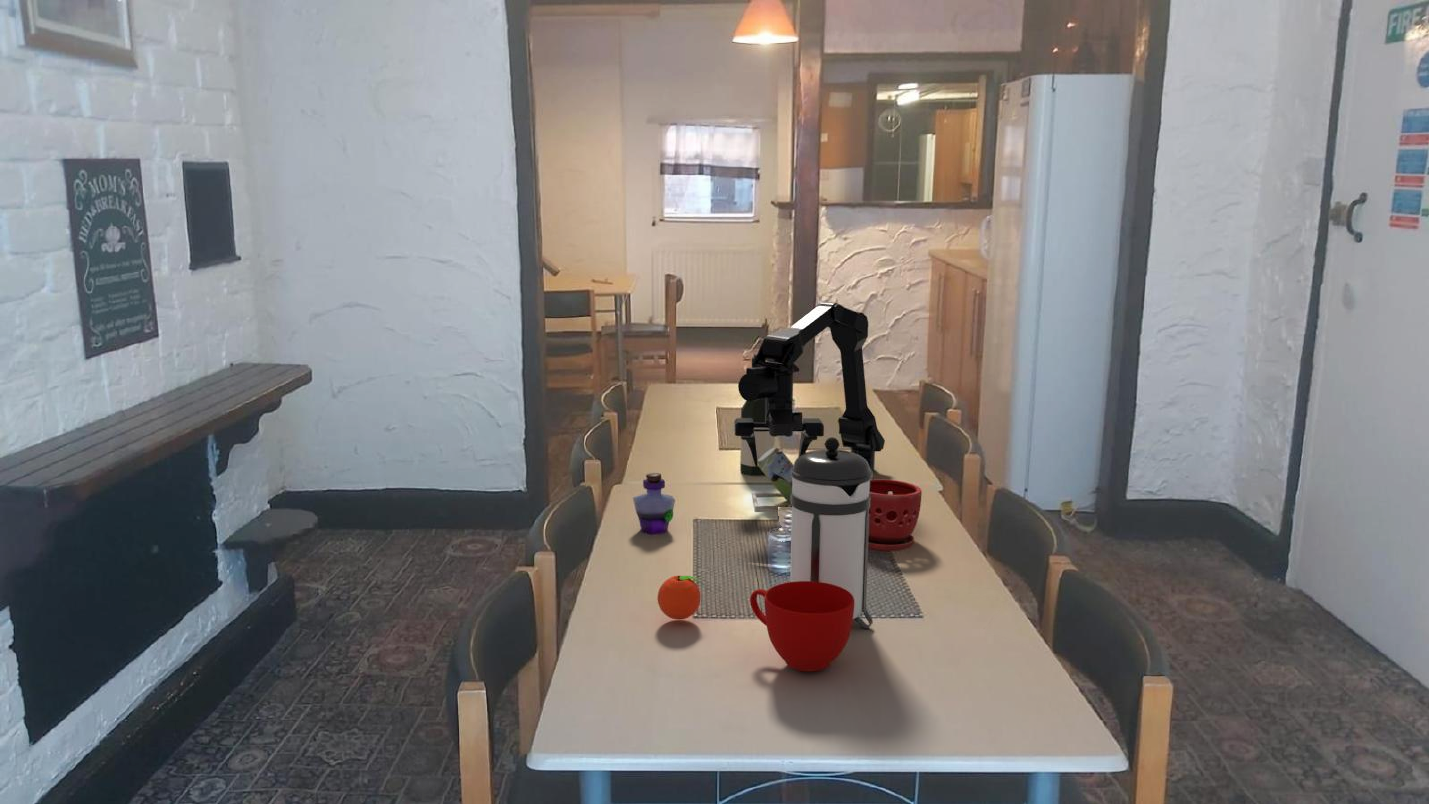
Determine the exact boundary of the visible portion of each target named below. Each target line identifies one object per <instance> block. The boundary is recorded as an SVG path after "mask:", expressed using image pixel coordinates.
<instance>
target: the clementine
mask: <svg viewBox="0 0 1429 804" xmlns="http://www.w3.org/2000/svg"><path fill="white" fill-rule="evenodd" d="M694 580H696V581H700V582H701V579H699V578H697V577H695V576H691V575H673V576H670V577H669V578H666V579H665V581H664V582H663V583H662V584H661V585H660V587H659V588H658V591H657V604H658V606H659V608H660V611H661V612H662V613H663V614H664V615H665V616H667V617H668V618H670V619H672V620H685V619H688V618H689V617H692V616H693V615H694V614H695V613H696V611H698V609H699V606H700V604H701V598H702V597H701V591H700V589H699V586H698V584H697V583H696V582H695V581H694ZM702 584H703V586H704V589H706V586H705V584H704V583H702Z"/></svg>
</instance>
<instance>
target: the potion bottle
mask: <svg viewBox="0 0 1429 804" xmlns="http://www.w3.org/2000/svg"><path fill="white" fill-rule="evenodd" d="M645 477H646V478H645V479H643V481H642V487H643V489H646V493H643V494H642V493H641V494H640V495H637V496H633V497H632V502H633V505H634V509H635V513H636V515H637V517H638V521H639V526H640V530H641V532H642V534H643V533H644V534H649V535H658V534H663V533H666V532H667V531H668V528H669V525H670V522H671V521H672V519H673V517H674V507H675V503H676V499H675V498H674V496H673V495H671V494H666V493H665V494H664V493H662V490H663V489H665V488H666V487H665V485H666V484H665V483H666V482H665V480H664V478H662V474H661V473H659V472H651V473H647V474H646V475H645Z"/></svg>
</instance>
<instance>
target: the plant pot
mask: <svg viewBox="0 0 1429 804" xmlns="http://www.w3.org/2000/svg"><path fill="white" fill-rule="evenodd" d="M869 492H870V494H871V502H870V508H869V538H868V550H869V549H870V550H876V551H887V552H888V551H889V552H890V551H892V552H893V551H900V550H904V549H907V548H910V547H911V546H912V545H913V544H914V542H915V538H914V536H913V535H912V534H913V532H914V530H915V528H916V526H917V523H918V519H919V516H920V513H921V512H920V510H921V505H922V494H923V493H922V492H923V491H922V489H921V488H920V487H919V486H917V485H915V484H913V483H909V482H906V481H902V480H897V479H896V480H894V479H885V478H883V479H881V478H879V479H877V478H874V479H873V478H872V479H871V480H870V488H869ZM889 492H890V493H893V494H892V495H888V493H889Z"/></svg>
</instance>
